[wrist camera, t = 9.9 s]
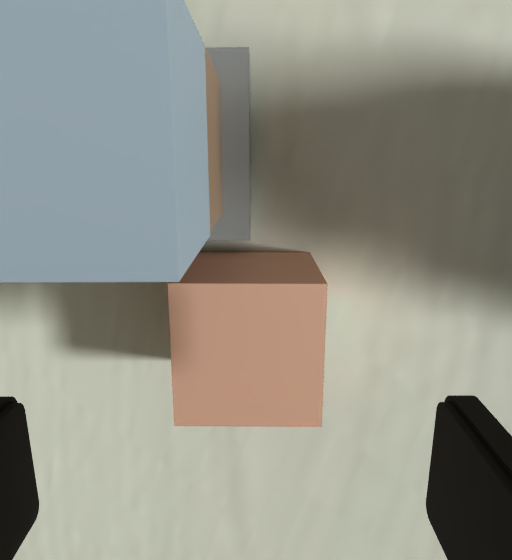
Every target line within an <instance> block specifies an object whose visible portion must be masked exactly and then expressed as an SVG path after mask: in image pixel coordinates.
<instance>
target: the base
mask: <svg viewBox="0 0 512 560" xmlns="http://www.w3.org/2000/svg"><path fill="white" fill-rule="evenodd" d="M205 74H206V107H207V141H208V175H209V209H210V237H209V238H208V240H250V104H249V47H238V48H205Z"/></svg>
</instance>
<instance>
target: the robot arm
mask: <svg viewBox="0 0 512 560" xmlns="http://www.w3.org/2000/svg"><path fill="white" fill-rule="evenodd" d="M426 509H427V514H428V518H429V521H430V523H431V525H432V527H433V529H434V531H435V533H436V536H437V538H438V540H439V542H440V544H441V546H442V548H443V550H444V553H445V555H446V557H447V559H448V560H512V436H511V435H510V434H509V433H508V432H507V431H506V429H505V428H504V427H503V426H502V425H501V424H500V423H499V422H498V420H497V419H496V418H495V417H494V416H493V415H492V414H491V413H490V412H489V410H488V409H487V408H486V407H485V406H484V405H483V404H482V403H481V401H480V400H479V399H478V398H477V397H475V396H447V397H446V399H445V402H440V403H439V404H438V406H437V411H436V420H435V429H434V437H433V446H432V455H431V463H430V472H429V481H428V489H427V498H426ZM38 510H39V499H38V492H37V486H36V479H35V473H34V466H33V460H32V453H31V447H30V440H29V434H28V427H27V421H26V414H25V409H24V406H23V404H21V403H17V401H16V399H15V398H14V397H0V560H12V559H13V557H14V556H15V554H16V552H17V551H18V549H19V547H20V546H21V544H22V542H23V540H24V539H25V537H26V535H27V534H28V532H29V530H30V529H31V527H32V525H33V524H34V522H35V520H36V518H37V515H38Z"/></svg>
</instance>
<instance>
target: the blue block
mask: <svg viewBox="0 0 512 560" xmlns="http://www.w3.org/2000/svg"><path fill="white" fill-rule="evenodd" d="M209 237H210V209H209V175H208V141H207V107H206V74H205V45H204V43H203V41H202V38H201V36H200V34H199V32H198V30H197V28H196V26H195V23H194V21H193V19H192V17H191V15H190V13H189V11H188V8H187V6H186V4H185V2H184V0H0V283H4V282H179V281H180V280H181V278H182V277H183V275H184V274H185V272H186V271H187V269H188V268H189V266H190V265H191V263H192V262H193V260H194V259H195V257H196V256H197V254H198V253H199V251H200V250H201V248H202V247H203V246H204V244H205V243H206V241H207V240H208V238H209Z"/></svg>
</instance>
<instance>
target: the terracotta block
mask: <svg viewBox="0 0 512 560" xmlns="http://www.w3.org/2000/svg"><path fill="white" fill-rule="evenodd" d="M168 303H169V324H170V345H171V366H172V388H173V409H174V426H284V427H322V407H323V382H324V356H325V331H326V306H327V282H326V281H325V279H324V277H323V275H322V273H321V272H320V270H319V268H318V266H317V265H316V263H315V261H314V259H313V257H312V256H311V254H310V252H199V253H198V254H197V256H196V257H195V259H194V260H193V262H192V263H191V265H190V266H189V268H188V269H187V271H186V272H185V274H184V275H183V277H182V278H181V280H180V281H179V282H168Z"/></svg>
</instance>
